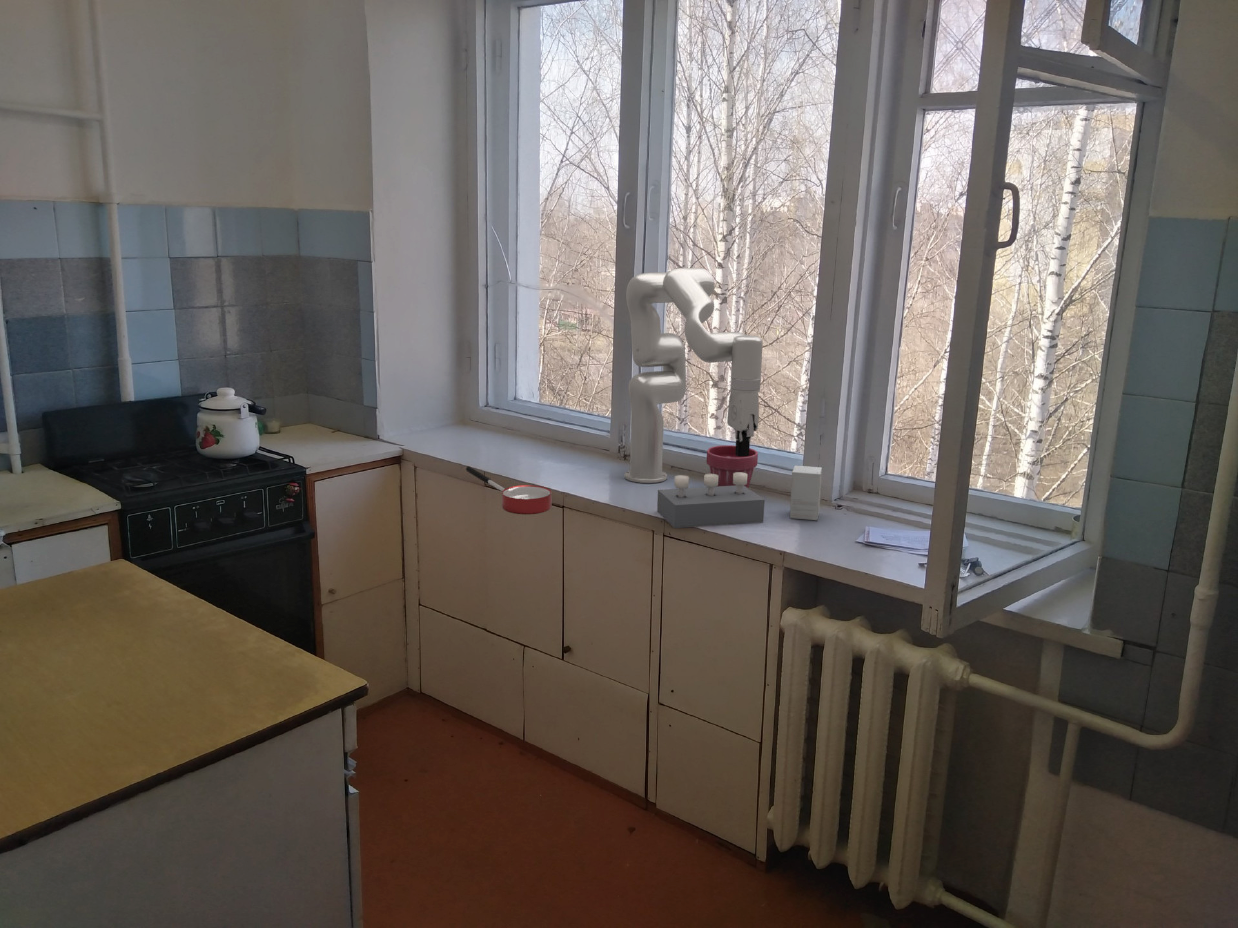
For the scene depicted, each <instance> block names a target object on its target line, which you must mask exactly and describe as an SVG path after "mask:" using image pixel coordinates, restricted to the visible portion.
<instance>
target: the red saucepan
mask: <svg viewBox="0 0 1238 928" xmlns="http://www.w3.org/2000/svg"><path fill="white" fill-rule="evenodd" d="M465 470H466V472H468V473H469V474H471V475H472V476H474V477H476V478H477V479H479V480H480V481H482V482H484V483H485V484H486V485H490V486H491V487H493V488H494V489H495V488H496V489H497V490H498V491H500V492H501V507H502V509H503V510H504V511H505V512H507V513H511V514H516V515H538V514H542V513H543V514H544V513H545V512H548V511H549V510H551V508H552V504H553V503H552V500H553V499H552V492H553V491H552V490H551V489H549V488H548V487H544V486H541V485H531V484H529V485H528V484H527V485H525V484H523V485H514V486H509V487H506V488H504V487H503V486H501V485H499V484H498V483H497V482H494V481H493V480H492V479H491V477H490V478H489V477H488V476H487V475H485V474H483V473H481V472H480V471H478V470H477V469H475V468H473V467H471V466H467V467H466V468H465Z"/></svg>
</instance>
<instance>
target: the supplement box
mask: <svg viewBox="0 0 1238 928" xmlns="http://www.w3.org/2000/svg"><path fill="white" fill-rule="evenodd" d="M822 469H823V468H822V467H821V466H820V467H817V466H808V465H807V466H806V465H794V467H793V469H792V471H791V488H790V505H789V519H798V520H809V521H818V519H819V514H820V508H821V507H820V505H821V486H822V473H823V470H822Z"/></svg>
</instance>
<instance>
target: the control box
mask: <svg viewBox="0 0 1238 928" xmlns="http://www.w3.org/2000/svg"><path fill="white" fill-rule="evenodd" d="M736 489H737V485H735V486H718V487H714V496H707V493H708V486H704V487H703V486H702V487H701V486H700V487H688V488H685V493H684V498H678V488H670V489H668V488H667V489H658V490H657V504H656V505H657V506H656V507H657V509H656V513H658V514H659V515H660V516H661V517H662V518H663V519H664V520H665V521H666V522H667V523H668V524H670V525H671V527H672V528H673V529H680V528H681V529H682V528H683V529H684V528H695V527H696V528H697V527H710V526H711V527H713V526H727V525H728V526H729V525H739V524H741V525H743V524H755V523H757V524H758V523H764V518H765V517H764V515H765V499H764V498H763V497H761V495H758V494H757V493H756V492H754V491H752V490H751V489H750V488H747V487H745V486H744V485H743V493H742V494H736Z"/></svg>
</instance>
